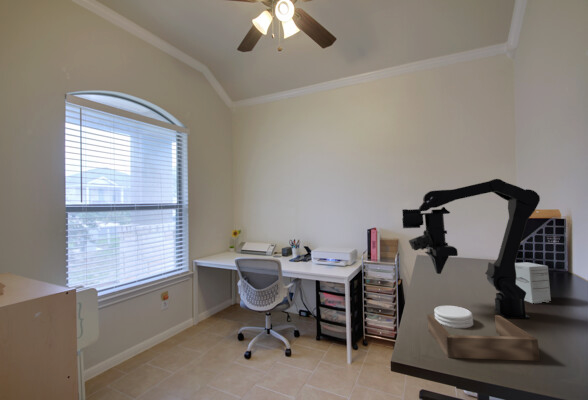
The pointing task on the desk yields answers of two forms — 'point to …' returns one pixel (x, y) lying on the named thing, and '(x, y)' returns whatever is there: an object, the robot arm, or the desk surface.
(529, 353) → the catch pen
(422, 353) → the desk surface
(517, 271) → the supplement box
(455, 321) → the coaster
